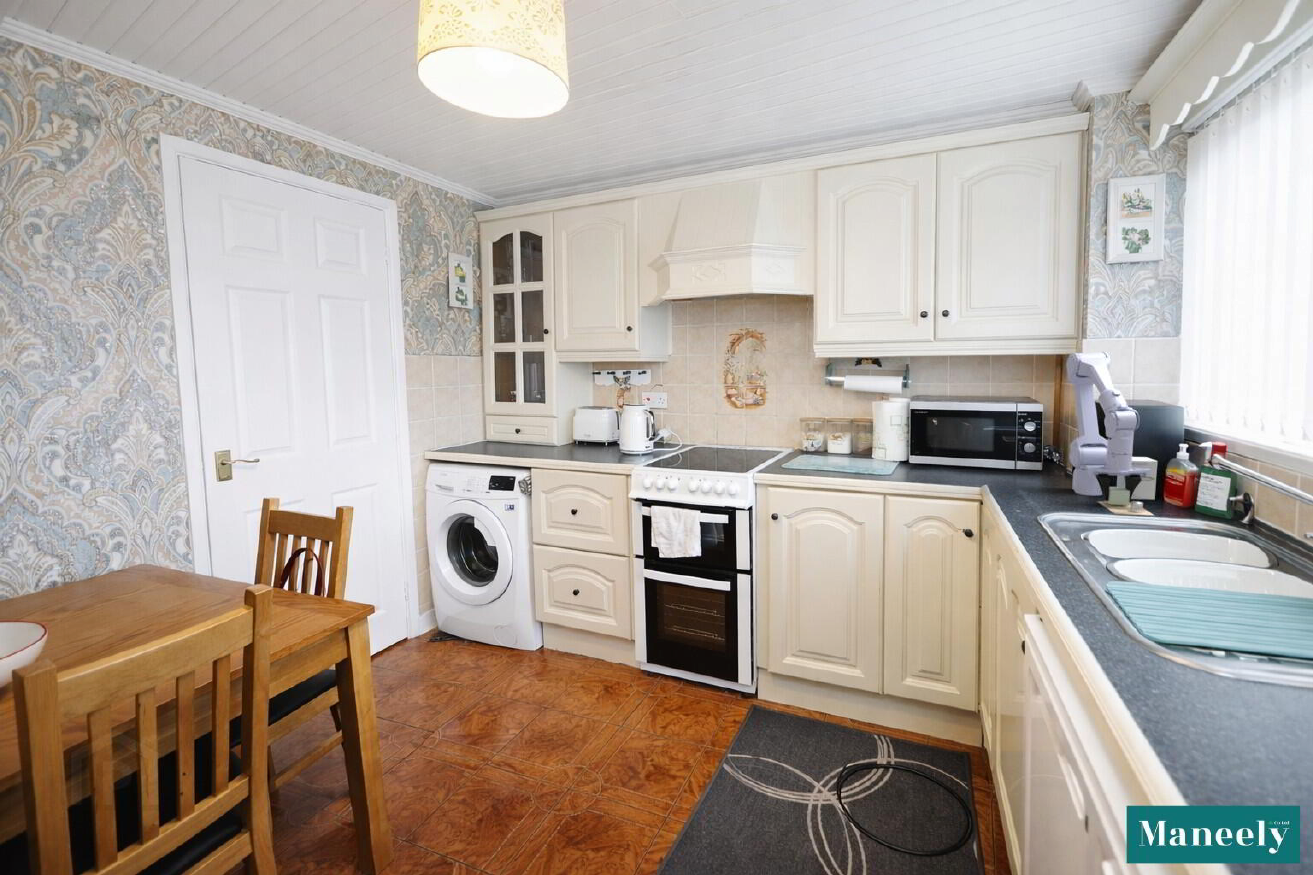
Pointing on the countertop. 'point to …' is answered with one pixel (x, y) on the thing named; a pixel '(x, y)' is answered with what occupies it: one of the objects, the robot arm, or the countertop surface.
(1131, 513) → the board
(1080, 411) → the robot arm
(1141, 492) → the supplement box
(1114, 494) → the pale green block
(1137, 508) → the silver knob
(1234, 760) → the countertop surface
